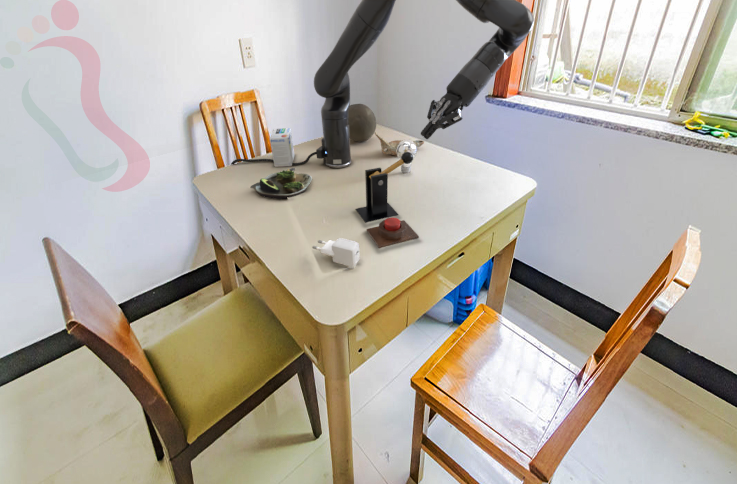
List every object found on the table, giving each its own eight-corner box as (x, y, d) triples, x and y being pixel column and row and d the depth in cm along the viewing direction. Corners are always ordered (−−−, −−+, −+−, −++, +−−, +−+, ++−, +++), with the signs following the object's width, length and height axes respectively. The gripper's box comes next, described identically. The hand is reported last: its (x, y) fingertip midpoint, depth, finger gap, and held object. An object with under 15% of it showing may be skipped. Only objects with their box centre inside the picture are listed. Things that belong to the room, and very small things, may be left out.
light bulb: (415, 169, 132) (417, 136, 125) (415, 178, 126) (417, 144, 119) (396, 169, 132) (396, 136, 125) (395, 178, 127) (395, 143, 120)
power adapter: (311, 260, 90) (308, 241, 87) (321, 249, 94) (319, 230, 91) (353, 272, 87) (351, 251, 83) (361, 260, 90) (361, 240, 87)
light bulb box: (277, 156, 145) (272, 128, 139) (295, 155, 145) (291, 127, 139) (274, 167, 136) (269, 138, 130) (292, 166, 137) (288, 137, 130)
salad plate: (273, 170, 134) (271, 158, 131) (320, 175, 130) (319, 162, 127) (246, 196, 118) (243, 183, 116) (298, 201, 115) (296, 188, 112)
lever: (411, 157, 103) (407, 147, 101) (416, 161, 101) (412, 151, 98) (372, 183, 103) (367, 174, 101) (376, 188, 100) (371, 179, 98)
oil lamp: (370, 154, 144) (369, 128, 138) (417, 144, 151) (419, 119, 146) (380, 162, 138) (380, 135, 132) (429, 151, 145) (431, 126, 139)
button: (396, 221, 98) (396, 216, 97) (402, 229, 95) (402, 223, 94) (382, 225, 97) (382, 219, 96) (388, 233, 94) (388, 227, 93)
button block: (403, 224, 103) (404, 213, 101) (418, 241, 96) (419, 229, 94) (366, 233, 99) (366, 222, 97) (379, 251, 93) (379, 239, 91)
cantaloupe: (351, 134, 163) (349, 98, 155) (381, 138, 158) (381, 101, 150) (336, 145, 153) (333, 107, 144) (368, 149, 148) (367, 111, 139)
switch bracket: (387, 205, 112) (387, 163, 104) (398, 218, 106) (399, 174, 98) (355, 212, 109) (353, 169, 101) (365, 225, 103) (364, 181, 95)
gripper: (447, 68, 98) (403, 121, 102) (477, 77, 88) (427, 136, 92) (462, 87, 103) (419, 137, 107) (492, 98, 93) (444, 153, 96)
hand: (423, 136), depth 99 cm, fingers closed
